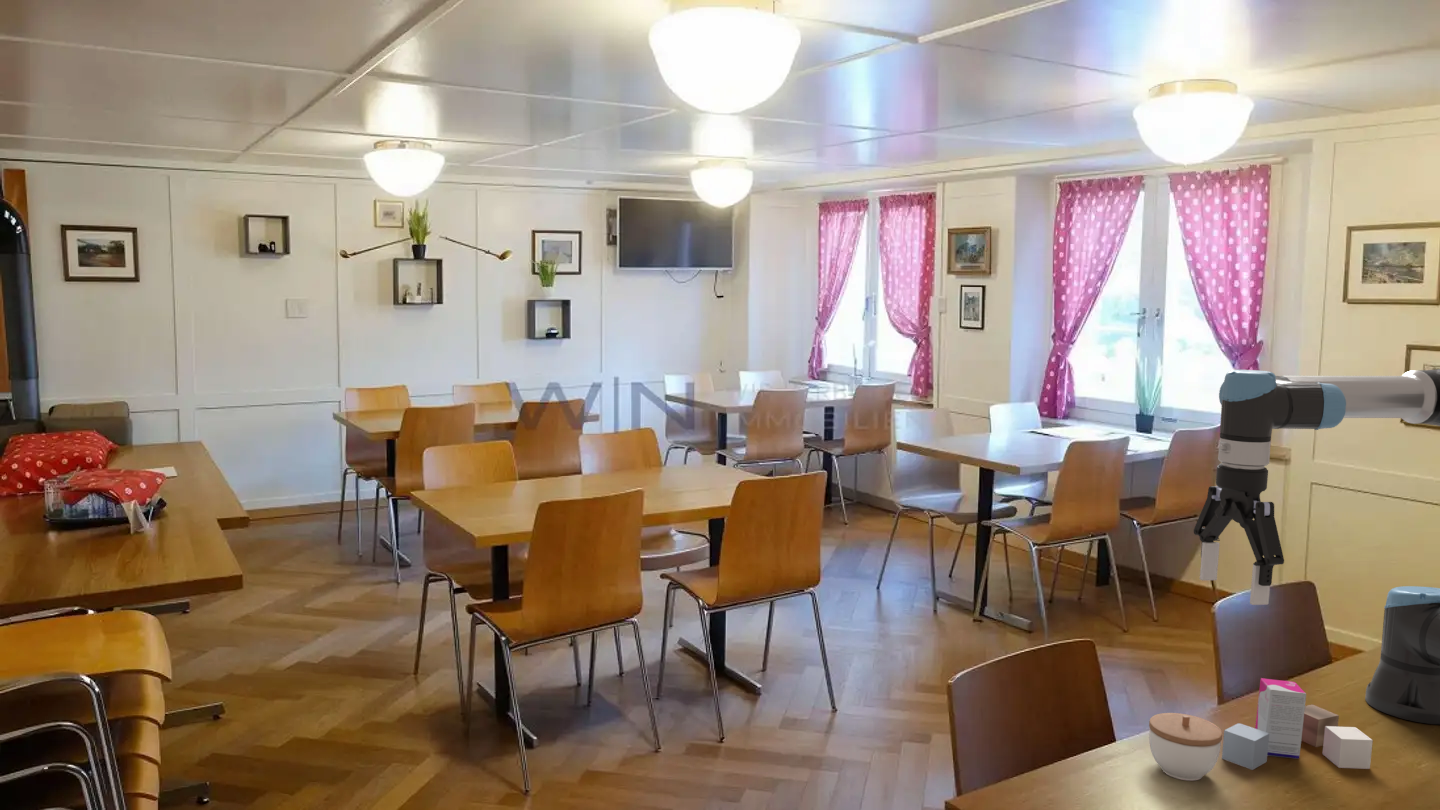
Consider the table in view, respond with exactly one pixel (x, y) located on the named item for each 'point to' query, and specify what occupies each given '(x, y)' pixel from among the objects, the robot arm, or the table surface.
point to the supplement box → (1281, 716)
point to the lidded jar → (1184, 745)
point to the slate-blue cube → (1245, 746)
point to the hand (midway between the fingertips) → (1232, 591)
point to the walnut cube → (1317, 724)
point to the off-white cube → (1347, 747)
